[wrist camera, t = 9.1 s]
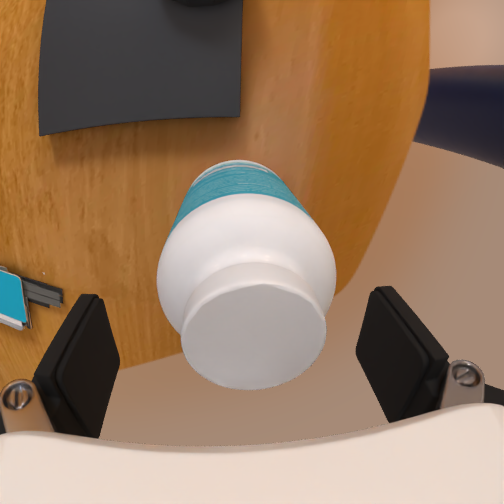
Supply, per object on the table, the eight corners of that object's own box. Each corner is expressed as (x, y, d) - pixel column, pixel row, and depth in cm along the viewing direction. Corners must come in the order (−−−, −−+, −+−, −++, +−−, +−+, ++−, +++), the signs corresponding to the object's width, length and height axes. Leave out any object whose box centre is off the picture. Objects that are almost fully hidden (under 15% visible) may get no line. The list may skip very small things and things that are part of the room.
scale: (250, -52, 13) (254, -72, 11) (246, 117, 19) (249, 117, 16) (59, -23, 12) (42, -35, 9) (48, 134, 18) (27, 139, 15)
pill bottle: (163, 209, 21) (92, 336, 9) (241, 135, 19) (266, 171, 7) (235, 277, 24) (246, 432, 12) (311, 214, 22) (401, 336, 10)
